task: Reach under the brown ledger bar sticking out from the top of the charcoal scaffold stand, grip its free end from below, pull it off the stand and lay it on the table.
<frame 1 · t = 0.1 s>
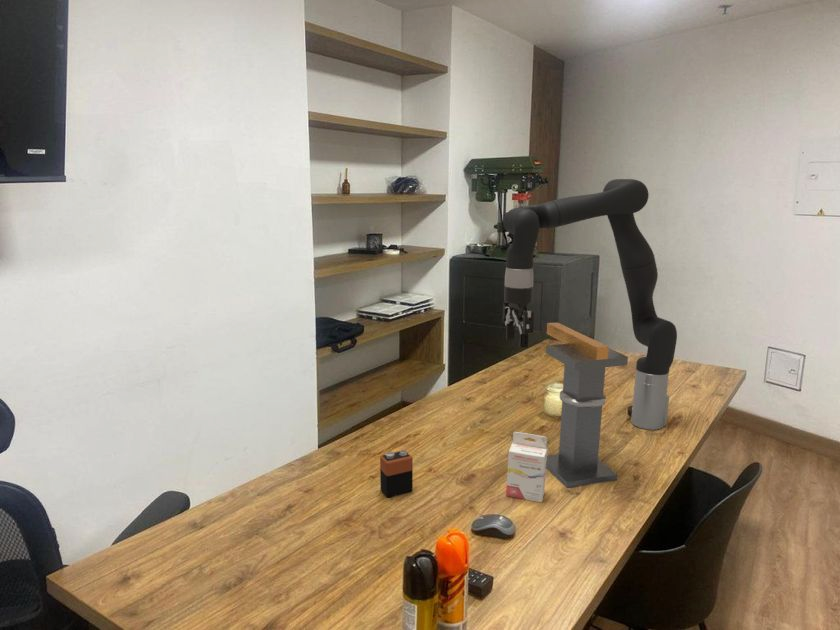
hand: (516, 343, 160), 29 cm above the table, tool pointing down, fingers open, 8 cm apart
scaffold stand: (577, 470, 150), on the table
ledger bar: (574, 345, 148), point 32 cm above the table, touching scaffold stand
battery: (396, 491, 140), on the table
ink cartridge box: (525, 495, 139), on the table
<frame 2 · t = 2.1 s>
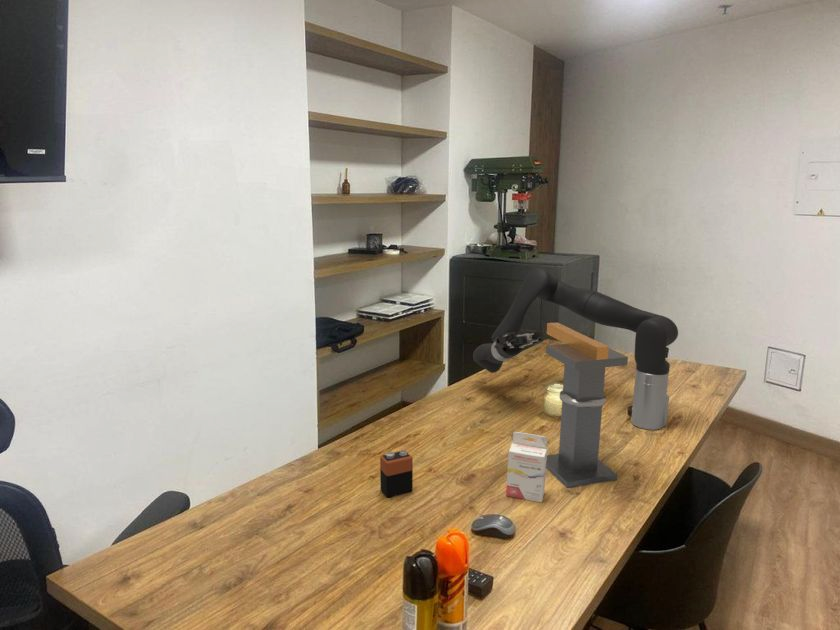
hand: (527, 334, 173), 28 cm above the table, tool pointing upward, fingers open, 8 cm apart
nothing on the table moved.
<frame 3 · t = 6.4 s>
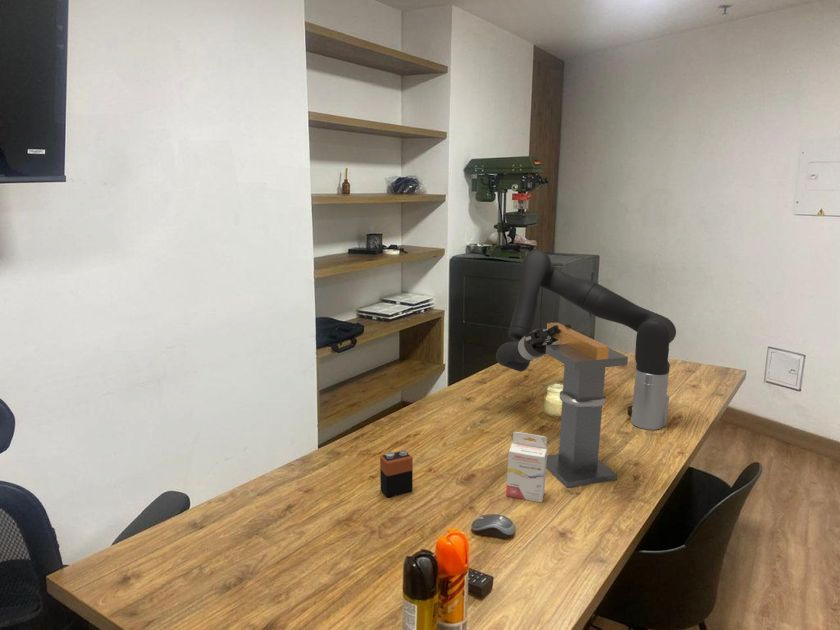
hand: (563, 328, 153), 35 cm above the table, tool pointing upward, fingers closed on ledger bar, 3 cm apart
ledger bar: (574, 345, 148), point 32 cm above the table, touching gripper, scaffold stand
everything else where it was.
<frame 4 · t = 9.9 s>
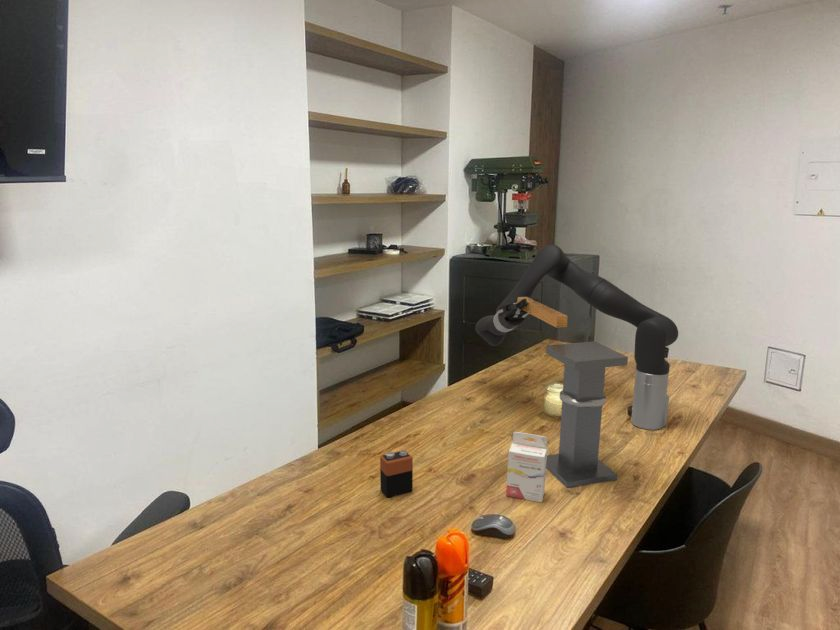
hand: (531, 301, 169), 38 cm above the table, tool pointing upward, fingers closed on ledger bar, 3 cm apart
ledger bar: (540, 316, 164), point 35 cm above the table, touching gripper
everything else where it was.
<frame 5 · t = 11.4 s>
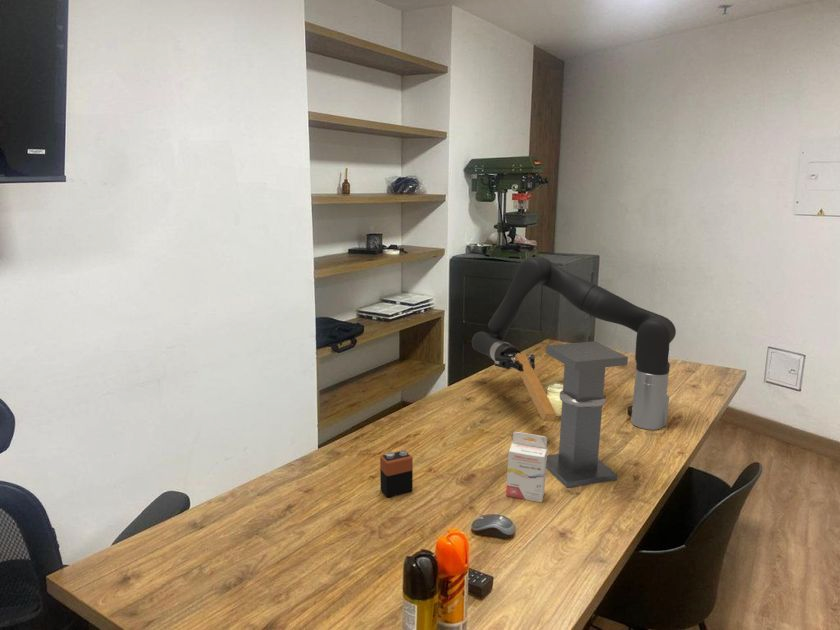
hand: (527, 367, 173), 18 cm above the table, tool horizontal, fingers closed on ledger bar, 3 cm apart
ledger bar: (532, 389, 170), point 13 cm above the table, tilted 26°, touching gripper
everything else where it was.
when the fingers open (11 cm above the table, at t = 13.3 s): ledger bar drops 6 cm, on the table.
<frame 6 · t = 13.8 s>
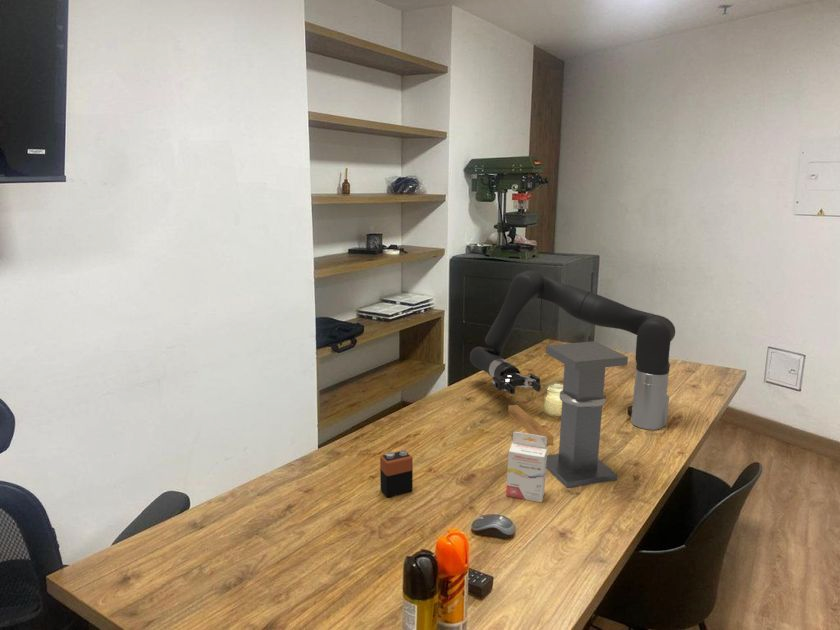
hand: (526, 390, 176), 11 cm above the table, tool horizontal, fingers open, 8 cm apart
ledger bar: (529, 429, 176), on the table
everything else where it was.
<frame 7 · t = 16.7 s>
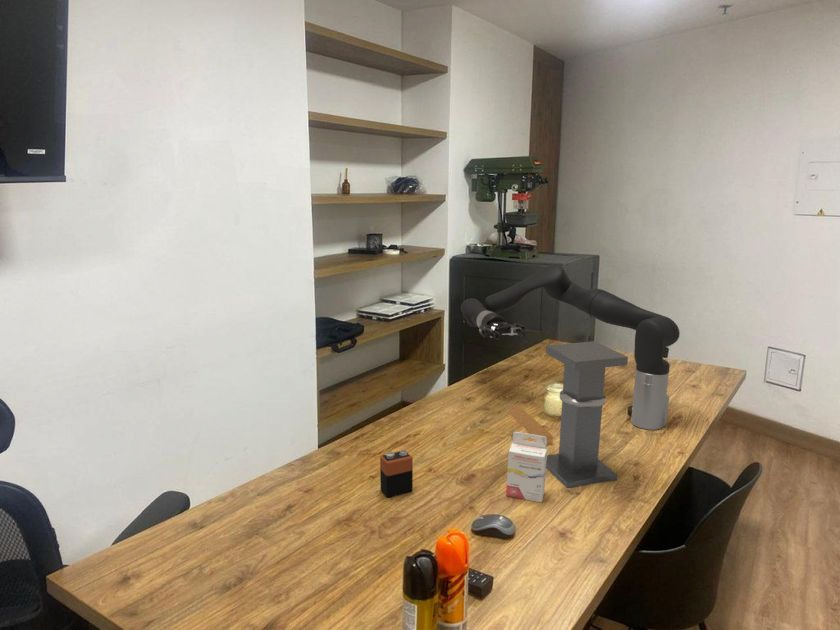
hand: (511, 335, 184), 25 cm above the table, tool horizontal, fingers open, 8 cm apart
nothing on the table moved.
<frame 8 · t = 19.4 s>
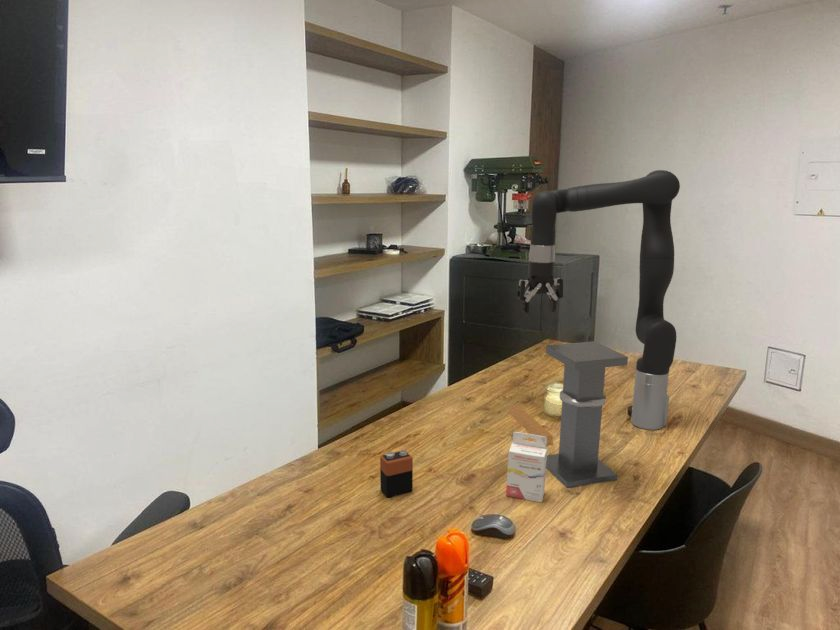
hand: (539, 312, 178), 33 cm above the table, tool pointing down, fingers open, 8 cm apart
nothing on the table moved.
at the end: ledger bar inside the target area (3.3 cm from its centre), on the table; the gripper is holding nothing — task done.
